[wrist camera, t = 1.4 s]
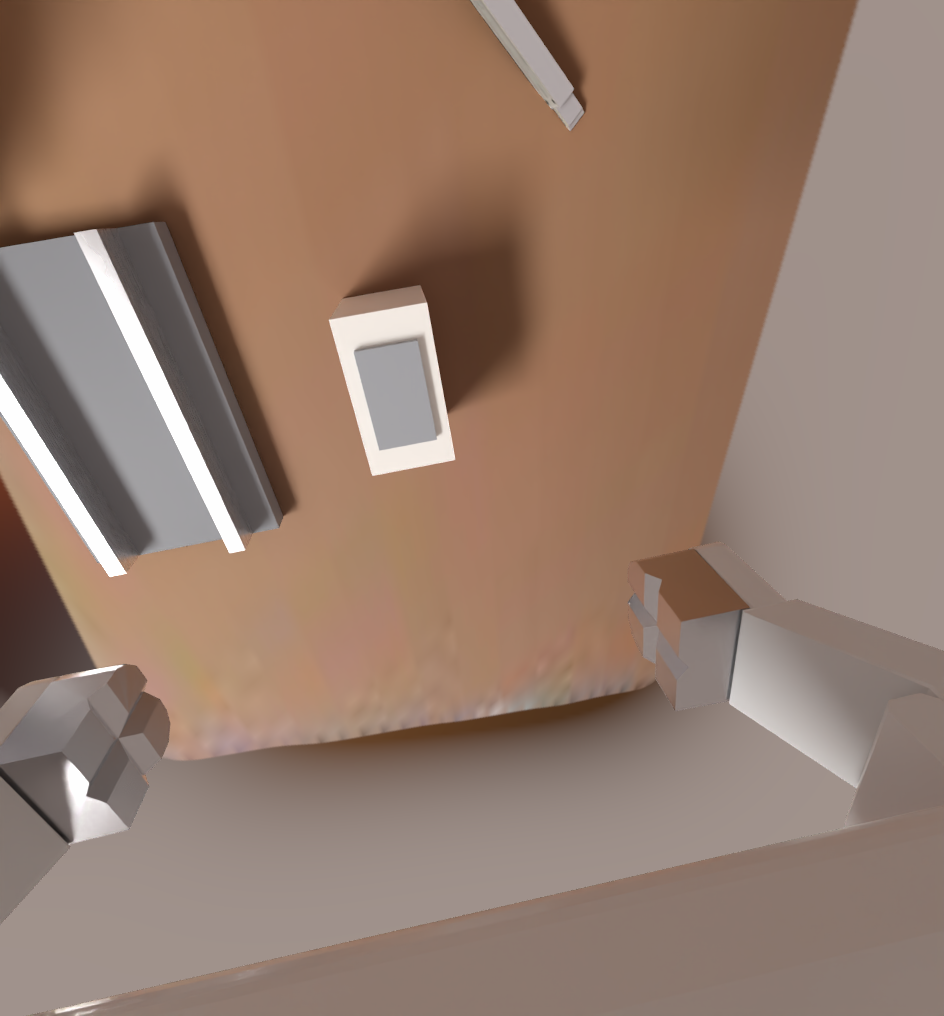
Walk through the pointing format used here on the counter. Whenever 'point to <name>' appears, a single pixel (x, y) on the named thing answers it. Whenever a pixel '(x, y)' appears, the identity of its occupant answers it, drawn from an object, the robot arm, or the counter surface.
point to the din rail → (26, 409)
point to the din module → (393, 378)
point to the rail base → (129, 387)
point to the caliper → (531, 57)
